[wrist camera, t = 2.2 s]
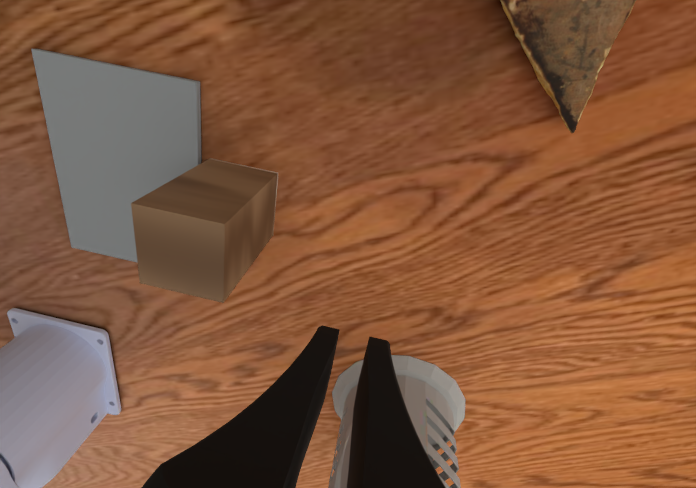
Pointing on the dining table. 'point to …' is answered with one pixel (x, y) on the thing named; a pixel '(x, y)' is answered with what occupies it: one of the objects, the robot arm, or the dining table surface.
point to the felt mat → (114, 142)
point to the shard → (567, 45)
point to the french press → (422, 405)
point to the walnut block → (204, 228)
